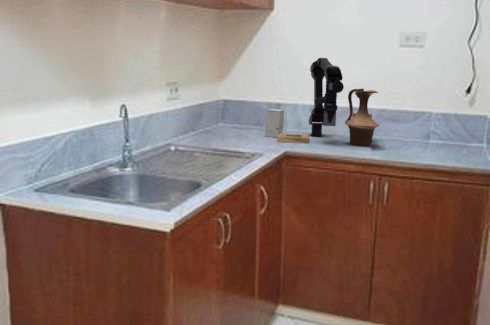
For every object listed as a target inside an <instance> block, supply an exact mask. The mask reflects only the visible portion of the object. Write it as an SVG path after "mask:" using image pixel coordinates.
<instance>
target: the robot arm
mask: <svg viewBox="0 0 490 325" xmlns="http://www.w3.org/2000/svg"><path fill="white" fill-rule="evenodd" d="M309 68H310V76H311V78H312V79H313V86H314V88H313V90H314V91H313V96H314V97H313V104H314V105H313V108H312V110H311V112H310V113H311V114H310V115H309V119H308V125H310V126H311V132H310V137H311V136H312V137H323V122H324V111H326V112H327V115H328V122H329V123H331V121H332V119H333V117H334V115H335V113H336V114H337V110H338V104H337V100H338V99H337V98H338V94H340V93H342V92H343V90H344V87H345V86H344V84H343V82H342V81H343V78H344V77H343V74H342V71H341V69H340V66H338V65H334V64H332V63H331V62H330V61H329V59H328V58H327V57H319V58H317V60H315V61H313V62H312V63H311V65H310V67H309ZM324 79H325V93H324V94H323V92H324V89H323V88H324V87H323V84H324V82H323V80H324ZM323 95H324V96H323Z"/></svg>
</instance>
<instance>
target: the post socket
mask: <svg viewBox="0 0 490 325" xmlns="http://www.w3.org/2000/svg"><path fill="white" fill-rule="evenodd" d="M276 138H277V139H276V142H277V143H291V144H292V143H294V144H309V143H310V134H304V133H303V134H302V133H283V132H282V133H279V135H278V137H276Z"/></svg>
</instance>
